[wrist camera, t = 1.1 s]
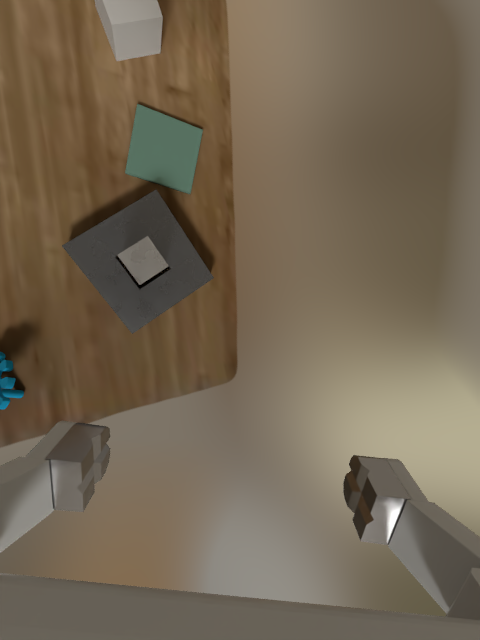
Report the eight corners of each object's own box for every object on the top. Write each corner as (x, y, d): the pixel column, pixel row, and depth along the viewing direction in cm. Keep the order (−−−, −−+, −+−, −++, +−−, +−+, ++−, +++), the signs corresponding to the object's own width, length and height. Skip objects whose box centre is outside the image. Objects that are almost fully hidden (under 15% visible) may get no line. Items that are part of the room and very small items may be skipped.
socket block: (133, 329, 44) (132, 333, 41) (67, 247, 39) (61, 245, 37) (209, 277, 46) (213, 277, 43) (155, 195, 42) (156, 189, 39)
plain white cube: (142, 1, 38) (141, -47, 32) (160, 53, 40) (163, 16, 34) (95, 7, 37) (86, -41, 31) (116, 61, 38) (111, 24, 33)
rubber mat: (125, 173, 40) (125, 172, 40) (137, 106, 40) (137, 103, 39) (189, 194, 43) (190, 193, 43) (202, 131, 42) (202, 129, 42)
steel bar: (140, 283, 43) (139, 285, 34) (123, 259, 42) (117, 254, 32) (163, 268, 44) (168, 266, 34) (147, 244, 42) (147, 235, 33)
